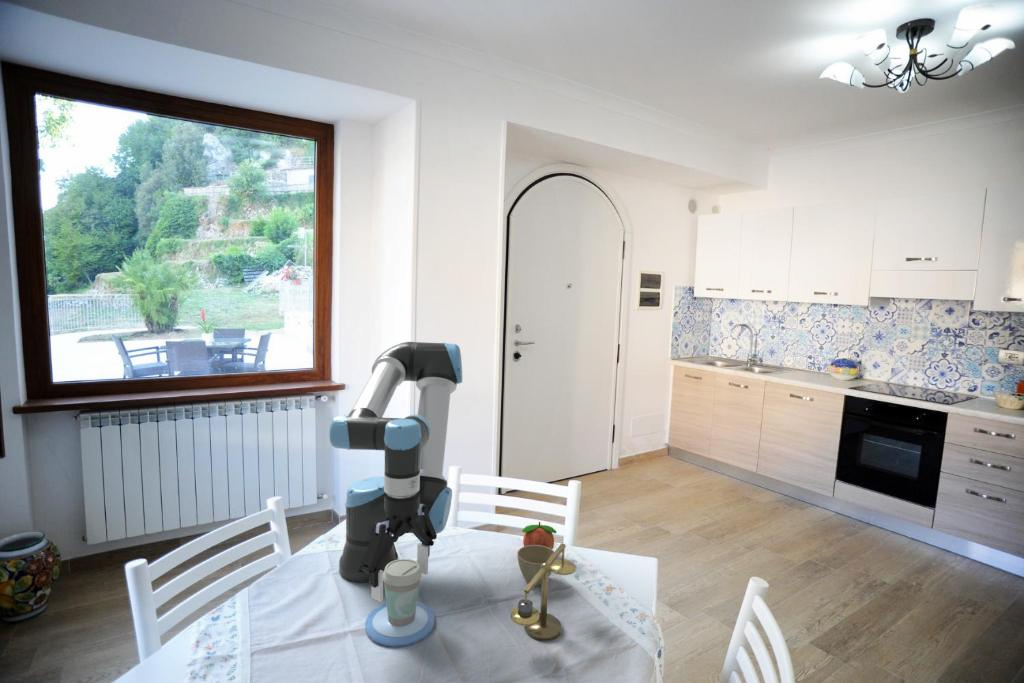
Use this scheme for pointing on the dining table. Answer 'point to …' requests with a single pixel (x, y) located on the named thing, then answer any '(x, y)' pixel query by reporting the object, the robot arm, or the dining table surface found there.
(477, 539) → the dining table surface
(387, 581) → the coffee cup
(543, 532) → the fruit
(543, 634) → the balance
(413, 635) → the dish
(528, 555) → the flower pot
